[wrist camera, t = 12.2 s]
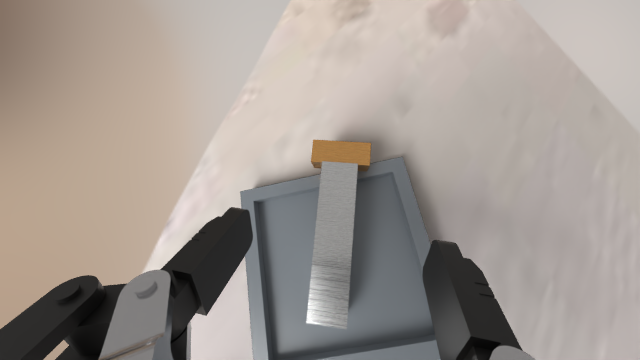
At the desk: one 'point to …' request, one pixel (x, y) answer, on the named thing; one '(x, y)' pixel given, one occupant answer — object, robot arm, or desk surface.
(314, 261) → the key
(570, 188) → the desk surface
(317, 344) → the tray
